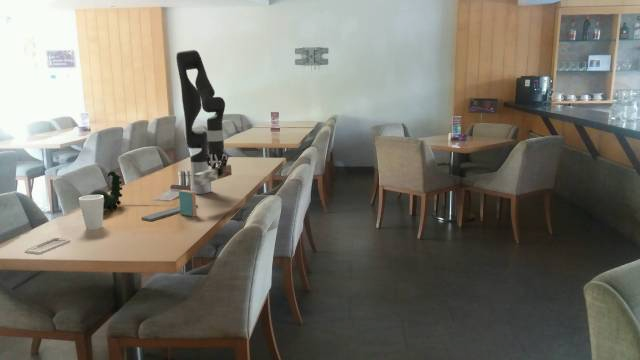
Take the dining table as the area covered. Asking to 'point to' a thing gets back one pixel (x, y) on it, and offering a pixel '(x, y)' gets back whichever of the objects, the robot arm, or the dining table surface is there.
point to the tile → (187, 202)
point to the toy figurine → (111, 193)
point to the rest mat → (162, 214)
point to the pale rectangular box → (211, 175)
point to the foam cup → (92, 211)
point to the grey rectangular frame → (47, 248)
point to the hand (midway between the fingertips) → (217, 175)
